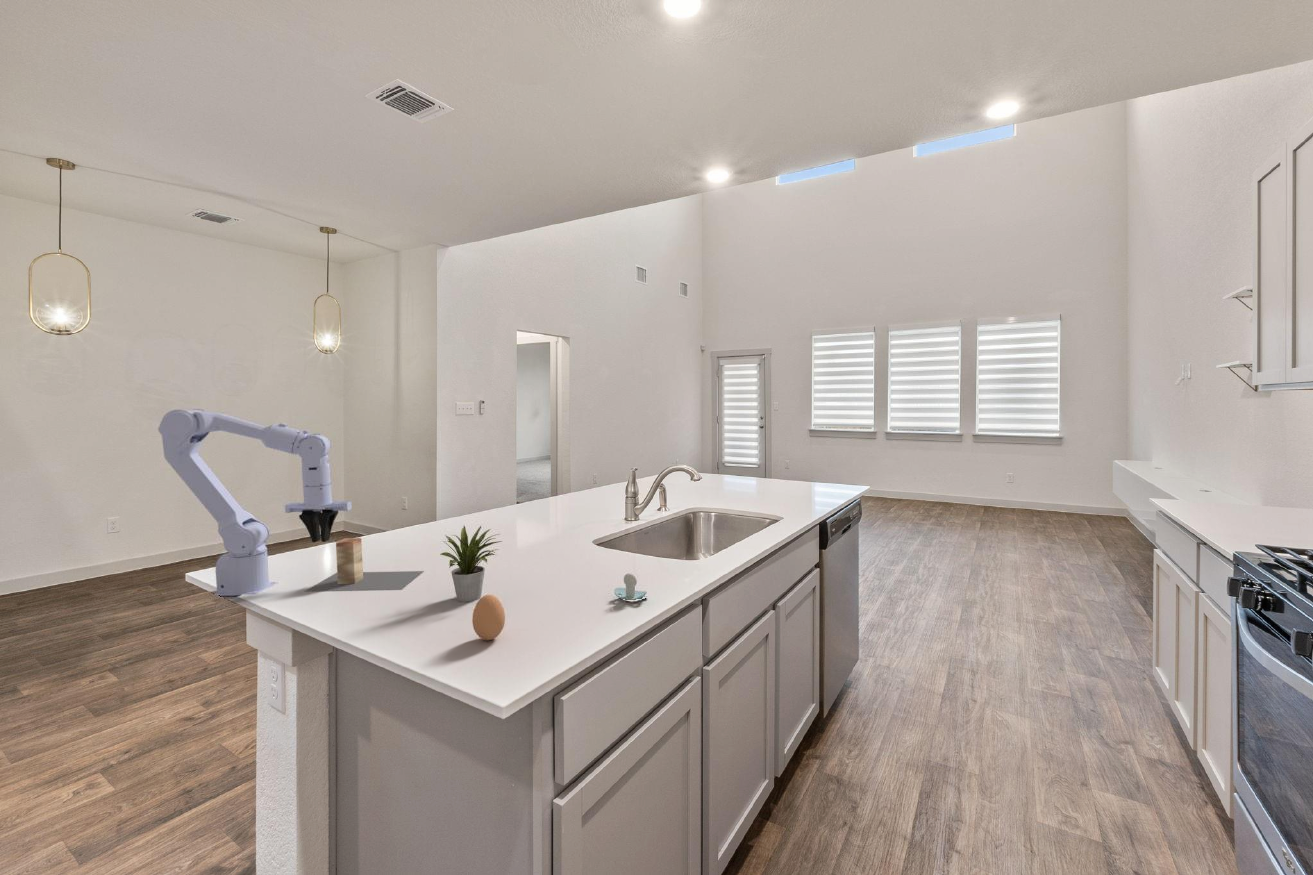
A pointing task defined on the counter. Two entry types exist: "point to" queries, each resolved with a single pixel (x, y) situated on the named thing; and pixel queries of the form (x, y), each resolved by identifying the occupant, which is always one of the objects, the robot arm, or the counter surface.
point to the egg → (488, 617)
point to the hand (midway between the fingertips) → (320, 541)
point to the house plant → (469, 565)
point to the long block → (349, 560)
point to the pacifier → (629, 589)
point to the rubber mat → (369, 582)
